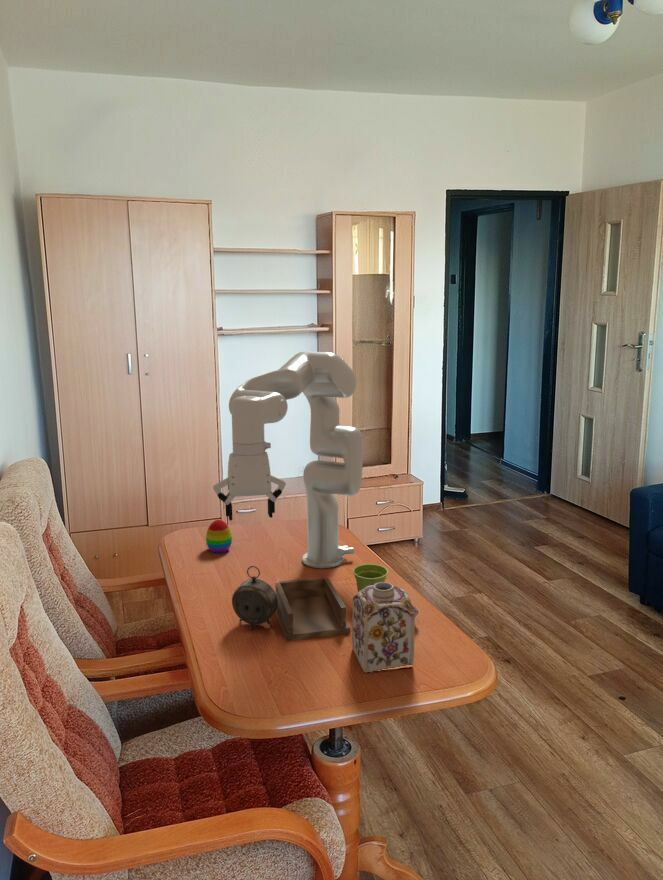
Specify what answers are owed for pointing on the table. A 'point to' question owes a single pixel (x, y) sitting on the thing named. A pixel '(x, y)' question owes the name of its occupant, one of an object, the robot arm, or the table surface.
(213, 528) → the decorative egg
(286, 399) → the robot arm
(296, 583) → the wooden tray
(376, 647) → the decorative jar
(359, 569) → the plant pot
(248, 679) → the table surface
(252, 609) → the alarm clock
